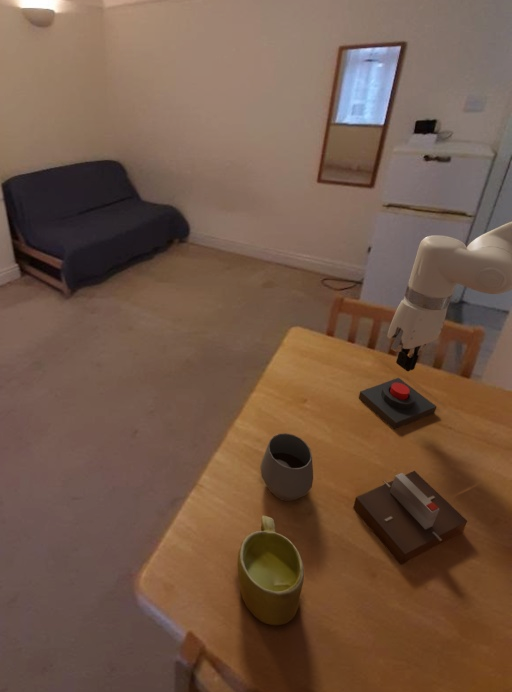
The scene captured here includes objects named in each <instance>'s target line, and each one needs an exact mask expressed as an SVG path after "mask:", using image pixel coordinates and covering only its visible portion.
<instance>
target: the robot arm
mask: <svg viewBox="0 0 512 692" xmlns="http://www.w3.org/2000/svg"><path fill="white" fill-rule="evenodd" d="M457 284H458V285H460V286H463V287H466V288H468V289H471V290H473V291H476V292H479V293H483V294H487V295H500V294H504V293H507V292H509V291H511V290H512V221H509V222H507V223H504V224H502V225H500V226H498V227H495V228H494V229H492V230H490V231H487V232H485V233H483V234H481V235H479V236H478V237H476V238H475V239H473V240H472V241H471V242H470V243H468V245H466V244H465V243H464V242H462V241H461V240H460V239H457V238H455V237H451V236H447V235H438V234H437V235H436V234H434V235H428V236H426V237H424V238H423V239H422V240H421V241H420V242H419V245H418V248H417V252H416V256H415V258H414V262H413V266H412V269H411V272H410V276H409V279H408V283H407V286H406V289H405V293H404V297H403V299H402V300H401V301H400V303H399V305H398V306H397V308H396V310H395V312H394V314H393V316H392V319H391V322H390V325H389V328H388V331H387V334H386V335H387V339H389V340H392V339H394V340H393V342H392V344H391V346H390V349H391V351H394V352H395V353H397V354H398V355H397V358H396V361H395V363H396V364H397V365H398V366H399V367H400V368H402V369H403V370H405V371H406V372H410V371H415V368H416V365H417V362H418V359H419V355H421V354H422V353H423V350H424V348H425V346H426V345H427V344H429V343H432V342H435V341H436V340H437V339H439V337H440V335H441V333H442V330H443V328H444V324H445V321H446V316H447V312H448V308H449V305H450V302H451V299H452V296H453V294H454V291H455V288H456V285H457Z"/></svg>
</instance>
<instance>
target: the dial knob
mask: <svg viewBox="0 0 512 692" xmlns="http://www.w3.org/2000/svg"><path fill="white" fill-rule="evenodd" d="M405 475H406V474H404V473H403V472H399V473H398V474H396V475H395V476H394V478H393V480H394V481H393V480H392V481H393V484H392V487H391V490H390V493H391V494H392V495H393V496H394V497H395V498H396V499H397V500H398V501H399V502H400V503H401V504H402V505H403V506H404V508H405V509H406V510H407V511H408V512H409V513H410V514H411V515H412V516H413V517H414V518H415V519H416V520H417V521H418V522H419V523H420V525H421V526H422V527H423V528H424V529H425V530H426V529H428V528H430V527H432V526H433V524H434V521H435V519H436V517H437V514H438V512H439V508H438V507H437V506H436V505H435V504H434V503H433V502H432V501H431V500H430V499H428V498H427V497H426V496H425V495H424V494H423V493H422V492H421V491H420V490H419V489H418V488H417V487H416V486H415V485H414V484H413V483H412V482H411V481H410V480H409V479H408V478H407V477H406V476H405Z"/></svg>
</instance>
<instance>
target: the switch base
mask: <svg viewBox="0 0 512 692" xmlns="http://www.w3.org/2000/svg"><path fill="white" fill-rule="evenodd" d="M404 475H405V476H406V477H407V478H408V479H409V480H410V481H411V482H412V483H413V484H414V485H415V486H416V487H417V488H418V489H419V490H420V491H421V492H422V493H423V494H424V495H425V496H426V497H427V498H428V499H430V500H431V501H432V502H433V503H434V504H435V505H436V506H437V507H438V508H439V512H438V514H437V517H436V519H435V521H434V524H433V526H432V527H430V528H428V529H426V530H425V529H424V528H423V527H422V526H421V525H420V523H419V522H418V521H417V520H416V519H415V518H414V517H413V516H412V515H411V514H410V513H409V512H408V511H407V510H406V509H405V508H404V506H403V505H402V504H401V503H400V502H399V501H398V500H397V499H396V498H395V497H394V496H393V495H392V494H391V493H390V490H391V487H392V484H393V481H394V479H393V480H390V481H389V482H387V481H386V480H385V479H383V480H382V482H383V484H382V485H379V486H378V487H376V488H374V489H371V490H369V491H366V492H365V493H362V494H360V495H358V496H356V497H355V500H354V504H353V509H354V511H355V512H356V513H357V514H358V515H359V516H360V518H361V519H362V520H363V521H364V522H365V524H366V525H367V526H368V527H369V529H371V531H372V532H373V534H374V535H375V536H376V537H377V538H378V539H379V541H380V542H381V543H382V544H383V545H384V547H385V548H386V549H387V550H388V552H390V554H391V555H392V556H393V557H394V559H395V560H396V561H397V562H398V564H400V566H401V565H403V564H406V563H407V562H409V561H412V560H413V559H415V558H417V557H419V556H420V555H422V554H424V553H426V552H428V551H429V550H432V549H433V548H435V547H437V546H439V545H441V544H443V543H444V542H446V541H448V540H450V539H452V538H454V537H456V536H457V535H459V534H461V533H463V532H464V530H465V528H466V525H467V524H468V520H467V519H466V518H465V517H464V516H463V515H462V514H461V513H460V512H459V511H458V510H457V509H456V508H454V507H453V505H451V504H450V503H449V502H448V501H447V500H446V498H444V497H443V496H442V495H441V494H440V493H439V492H438V491H436V489H435V488H433V486H431V485H430V483H428V482H427V481H426V480H425V479H424V478H423V477H422V476H421V475H420V474H419V473H417V471H416V470H413V471H411V472H409V473H407V474H404Z"/></svg>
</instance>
